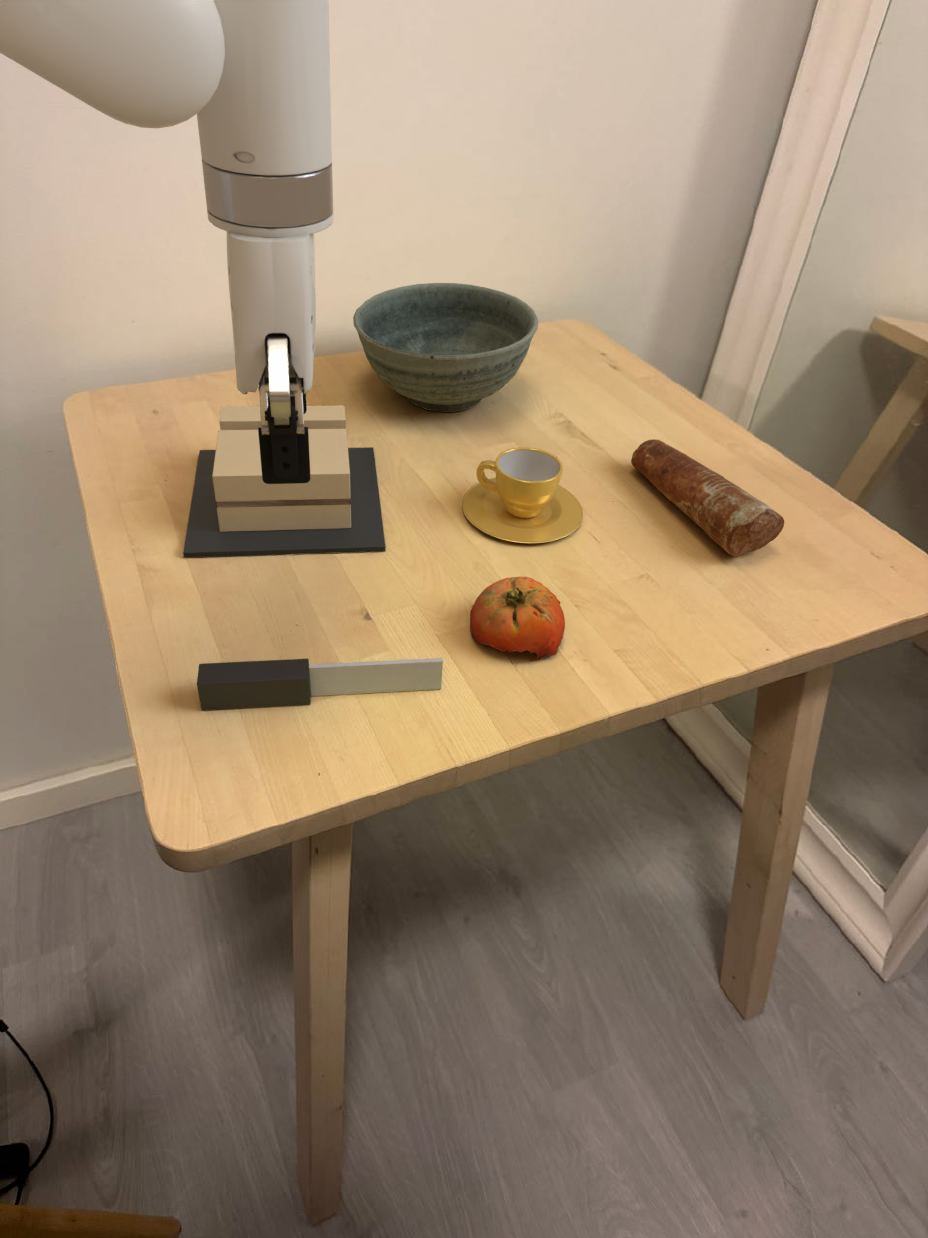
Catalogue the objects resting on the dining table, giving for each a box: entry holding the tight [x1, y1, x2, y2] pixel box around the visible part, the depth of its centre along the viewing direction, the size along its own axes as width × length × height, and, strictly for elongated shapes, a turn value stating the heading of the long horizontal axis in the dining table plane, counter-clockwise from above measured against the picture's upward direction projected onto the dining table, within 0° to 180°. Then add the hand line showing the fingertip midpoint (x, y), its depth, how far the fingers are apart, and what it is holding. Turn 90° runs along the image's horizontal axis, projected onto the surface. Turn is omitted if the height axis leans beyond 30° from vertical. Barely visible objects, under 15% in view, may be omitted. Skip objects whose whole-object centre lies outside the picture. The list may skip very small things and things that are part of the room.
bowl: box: [352, 282, 539, 413], centre depth 105 cm, size 21×21×10 cm
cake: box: [182, 428, 387, 559], centre depth 87 cm, size 18×18×7 cm
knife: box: [196, 657, 444, 711], centre depth 68 cm, size 18×2×3 cm, turn 98°
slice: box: [219, 405, 347, 430], centre depth 90 cm, size 12×3×6 cm, turn 98°
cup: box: [461, 446, 584, 544], centre depth 88 cm, size 12×12×5 cm
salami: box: [630, 439, 785, 558], centre depth 90 cm, size 6×19×6 cm, turn 25°
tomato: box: [469, 576, 566, 663], centre depth 75 cm, size 8×7×7 cm
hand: (286, 445), depth 65 cm, fingers open, 9 cm apart
